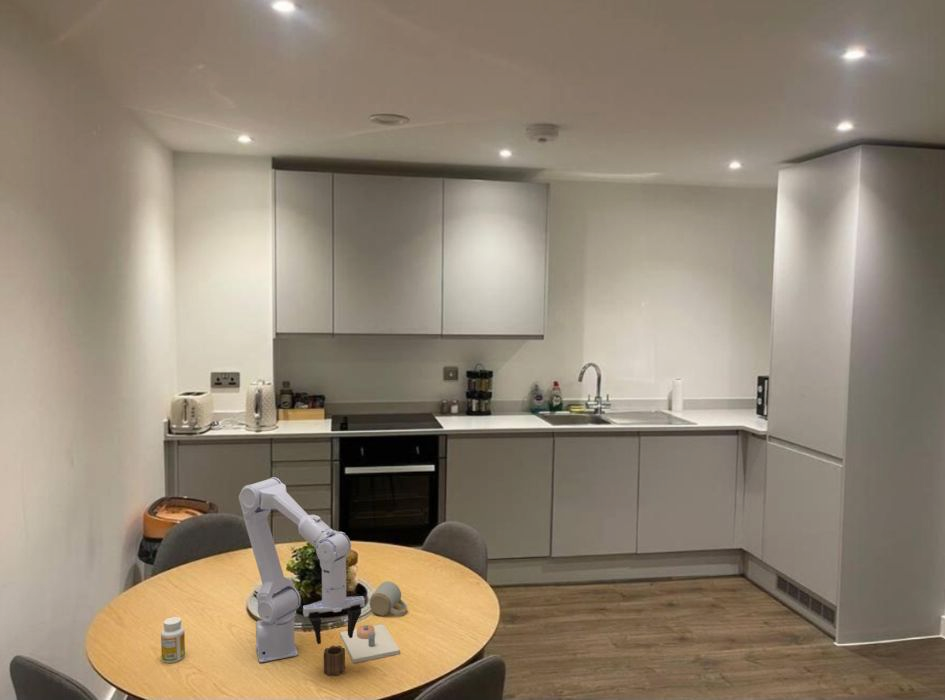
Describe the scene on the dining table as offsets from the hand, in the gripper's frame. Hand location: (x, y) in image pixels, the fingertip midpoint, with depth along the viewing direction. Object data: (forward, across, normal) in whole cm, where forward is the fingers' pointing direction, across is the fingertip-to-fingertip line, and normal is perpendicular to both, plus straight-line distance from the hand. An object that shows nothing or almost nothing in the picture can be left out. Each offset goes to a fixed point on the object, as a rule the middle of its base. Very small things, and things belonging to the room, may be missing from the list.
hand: (334, 639), depth 166 cm
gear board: (+8, +11, +9) cm, 16 cm away
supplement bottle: (+8, -36, +21) cm, 42 cm away
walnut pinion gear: (+8, 0, 0) cm, 8 cm away
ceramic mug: (+8, +21, +26) cm, 34 cm away
